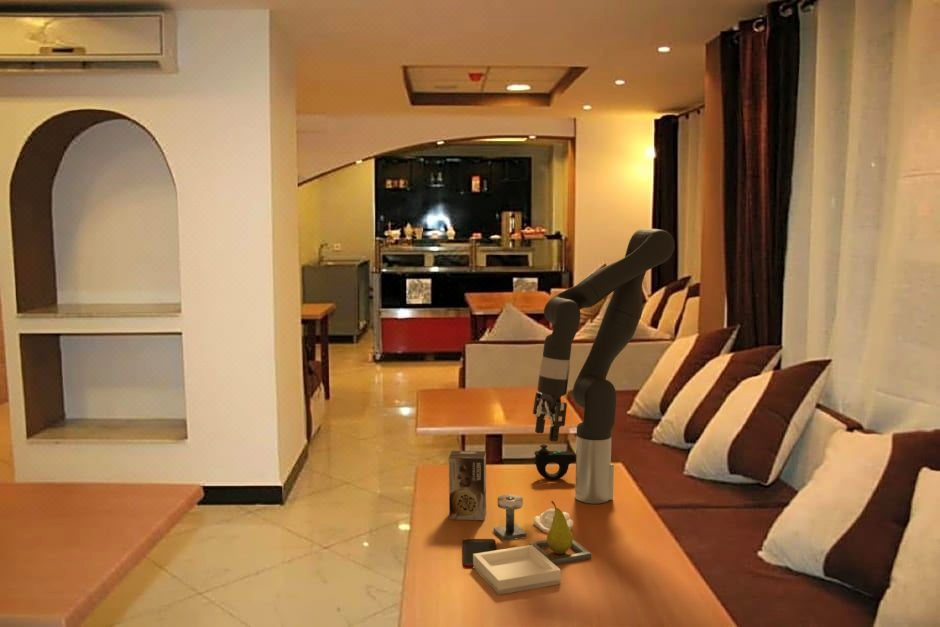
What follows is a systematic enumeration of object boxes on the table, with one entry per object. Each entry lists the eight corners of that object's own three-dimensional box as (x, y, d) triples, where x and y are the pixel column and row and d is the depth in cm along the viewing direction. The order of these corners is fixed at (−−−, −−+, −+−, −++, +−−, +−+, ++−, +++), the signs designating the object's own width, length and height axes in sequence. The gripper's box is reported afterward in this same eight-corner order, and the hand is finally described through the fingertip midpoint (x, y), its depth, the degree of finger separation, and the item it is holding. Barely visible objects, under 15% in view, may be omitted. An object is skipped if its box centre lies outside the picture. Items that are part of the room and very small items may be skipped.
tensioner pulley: (516, 528, 202) (516, 492, 201) (526, 537, 197) (527, 500, 196) (493, 531, 200) (493, 495, 199) (503, 540, 195) (503, 503, 194)
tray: (531, 557, 185) (531, 544, 185) (560, 583, 172) (560, 569, 172) (473, 567, 180) (473, 553, 180) (498, 594, 167) (498, 580, 167)
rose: (578, 506, 206) (568, 519, 197) (577, 523, 206) (568, 537, 197) (538, 501, 209) (528, 514, 200) (538, 518, 210) (528, 531, 201)
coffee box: (486, 511, 213) (487, 450, 211) (484, 521, 207) (485, 458, 205) (451, 510, 214) (451, 449, 212) (448, 519, 208) (448, 457, 206)
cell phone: (495, 542, 195) (495, 538, 194) (498, 569, 180) (498, 565, 180) (462, 542, 194) (462, 538, 194) (463, 569, 180) (463, 565, 180)
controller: (533, 476, 242) (533, 443, 240) (575, 476, 242) (576, 443, 240) (534, 481, 237) (534, 447, 236) (577, 481, 237) (578, 447, 236)
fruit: (576, 557, 186) (577, 505, 184) (551, 559, 184) (551, 507, 183) (567, 547, 191) (568, 496, 190) (543, 549, 190) (544, 498, 188)
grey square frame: (569, 541, 194) (569, 536, 194) (591, 558, 185) (591, 553, 185) (528, 547, 191) (528, 542, 191) (549, 565, 181) (549, 560, 181)
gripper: (579, 381, 209) (571, 444, 210) (555, 371, 222) (547, 430, 223) (552, 379, 206) (544, 443, 207) (529, 369, 219) (521, 429, 221)
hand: (546, 436), depth 215 cm, fingers open, 8 cm apart
